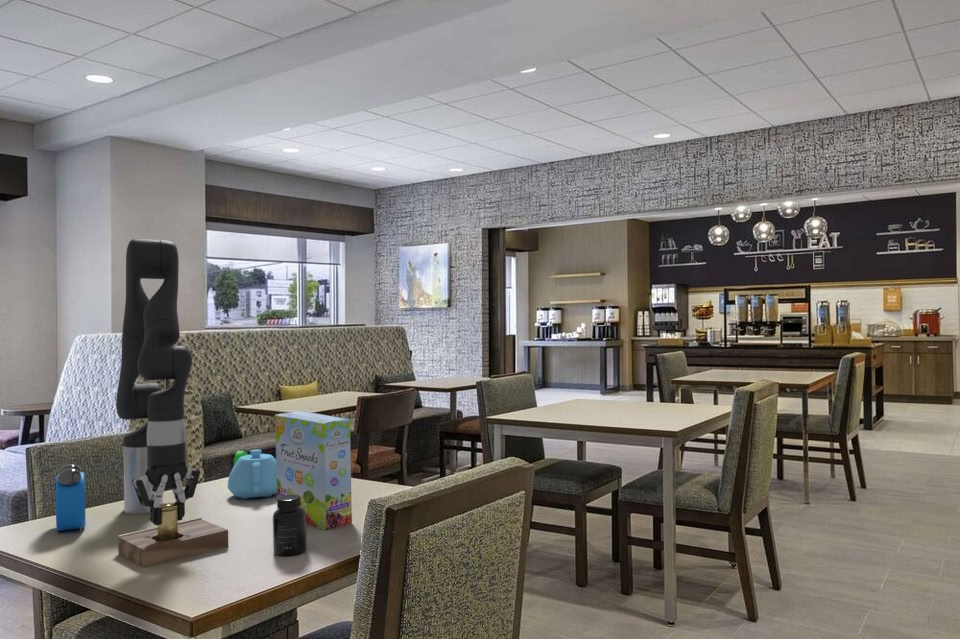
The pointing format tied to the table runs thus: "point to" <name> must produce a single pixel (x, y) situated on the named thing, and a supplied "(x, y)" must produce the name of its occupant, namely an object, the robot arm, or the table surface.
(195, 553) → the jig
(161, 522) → the brass cylinder plug
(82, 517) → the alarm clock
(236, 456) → the mechanical part
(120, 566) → the table surface
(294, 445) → the snack box
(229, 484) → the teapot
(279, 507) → the supplement bottle
